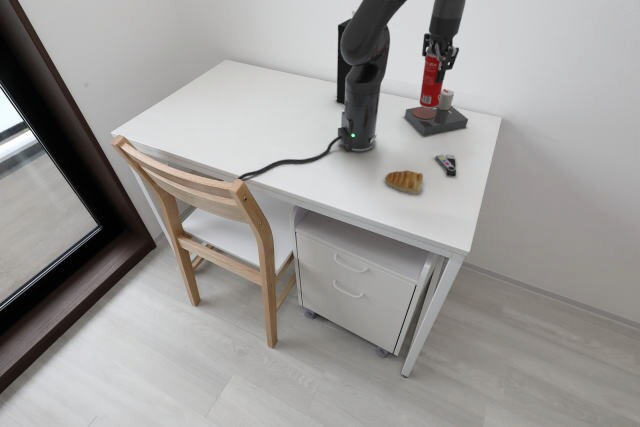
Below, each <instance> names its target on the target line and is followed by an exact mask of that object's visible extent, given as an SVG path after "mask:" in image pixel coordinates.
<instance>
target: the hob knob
mask: <svg viewBox="0 0 640 427" xmlns="http://www.w3.org/2000/svg"><path fill="white" fill-rule="evenodd" d="M454 96H455V92H454V91H453V90H451V89H446V88H442V90H441V96H440V101H439V105H438V106H437V107H438V108H439V109H441V110H449V109H450V107H451V105H452V103H453V99H454Z"/></svg>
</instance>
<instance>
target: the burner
mask: <svg viewBox="0 0 640 427" xmlns="http://www.w3.org/2000/svg"><path fill="white" fill-rule="evenodd" d="M413 114H414V115H415V116H416V117H418V118H421V119H431V118H433V117H435V112H434V111H433V110H431V109H427V108H418V109H415V110H414V111H413Z"/></svg>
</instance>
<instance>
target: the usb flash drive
mask: <svg viewBox="0 0 640 427" xmlns="http://www.w3.org/2000/svg"><path fill="white" fill-rule="evenodd" d="M434 158H435V160H436V161H437V162H438V163H439V164H440V165H441V167H442V168H443V169H444V170H445V171H446V176H448V177H456V176H457V167H456V159H455V154H446V157H445V155H444V154H437V155H435V157H434Z"/></svg>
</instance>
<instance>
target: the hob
mask: <svg viewBox="0 0 640 427" xmlns="http://www.w3.org/2000/svg"><path fill="white" fill-rule="evenodd" d="M455 106H456V105H455V104H451V107H450V109H449V110H441V109H439V108H438V107H434V108H427V109H431V110H433V111H434V112H435V117H433V118H431V119H421V118H418V117H416V116H415V115H414V114H413V111H414V110H415V109H418V108H425V107H423V106H421V105H420V106H416V107H411V108H406V109H405V112H404V119H405V120H406V121H407V122H408V123H409V124H410V125H411V126H412V127H413V128H414V129H415V130H416V131H417V132H418V133H419V134H420V135H421V136H422V137H427V136H432V135H438V134H443V133H447V132H453V131H456V130H461V129H466V127H467V125H468V121H469V119H468V118H467V117H466V116H465V115H464V114H463V113H461V112H460V111H459V110H458V109H456V108H455Z"/></svg>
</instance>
